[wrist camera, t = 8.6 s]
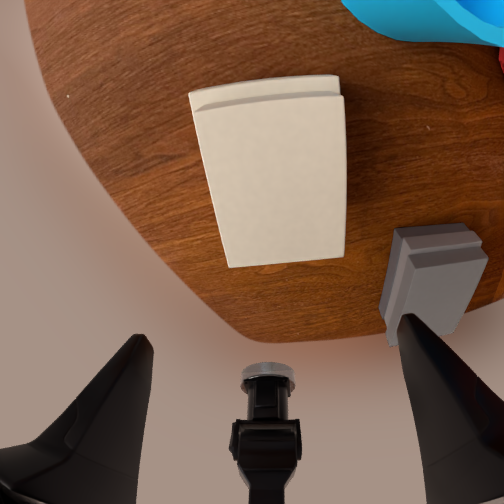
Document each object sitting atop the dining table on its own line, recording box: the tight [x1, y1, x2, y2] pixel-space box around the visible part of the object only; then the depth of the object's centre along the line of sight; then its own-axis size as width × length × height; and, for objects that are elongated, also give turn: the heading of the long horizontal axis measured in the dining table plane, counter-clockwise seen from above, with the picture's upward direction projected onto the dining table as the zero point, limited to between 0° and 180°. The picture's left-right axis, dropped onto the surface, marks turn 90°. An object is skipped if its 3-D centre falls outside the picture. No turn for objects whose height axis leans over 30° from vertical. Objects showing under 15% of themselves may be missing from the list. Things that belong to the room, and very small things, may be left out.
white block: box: [193, 91, 347, 268], centre depth 13 cm, size 8×6×2 cm
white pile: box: [189, 75, 340, 219], centre depth 15 cm, size 9×7×4 cm
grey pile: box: [379, 223, 488, 347], centre depth 20 cm, size 9×7×4 cm
